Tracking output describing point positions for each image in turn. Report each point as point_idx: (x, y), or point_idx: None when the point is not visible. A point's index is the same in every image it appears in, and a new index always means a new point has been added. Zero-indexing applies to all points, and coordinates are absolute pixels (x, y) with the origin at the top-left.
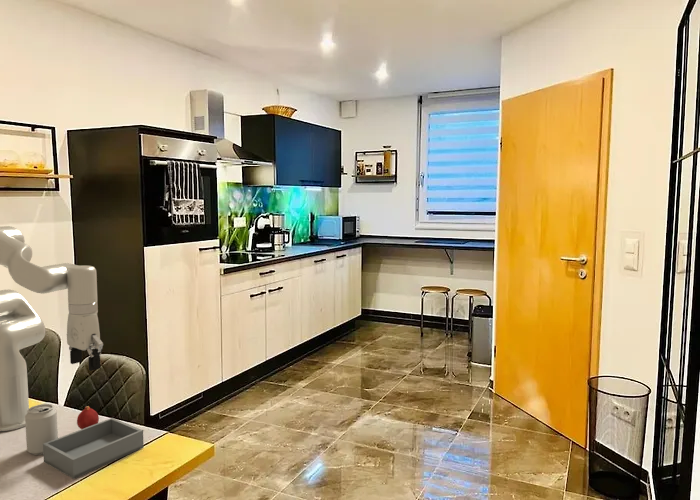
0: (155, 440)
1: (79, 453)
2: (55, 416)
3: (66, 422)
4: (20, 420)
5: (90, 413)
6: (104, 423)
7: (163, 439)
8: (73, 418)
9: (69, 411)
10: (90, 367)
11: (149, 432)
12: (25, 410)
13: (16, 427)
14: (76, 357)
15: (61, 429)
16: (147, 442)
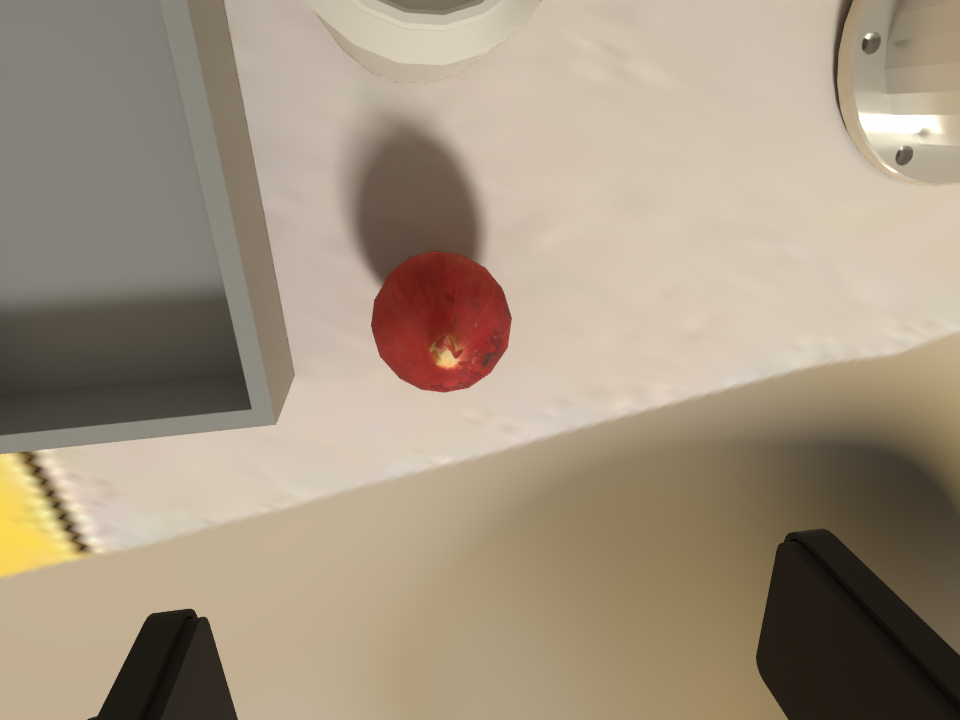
0: (30, 487)
1: (109, 96)
2: (317, 15)
3: (669, 272)
4: (895, 54)
5: (399, 343)
6: (243, 355)
7: (13, 518)
8: (685, 322)
9: (791, 348)
10: (134, 673)
11: (163, 508)
12: (945, 98)
13: (853, 10)
14: (834, 684)
15: (602, 208)
16: None
